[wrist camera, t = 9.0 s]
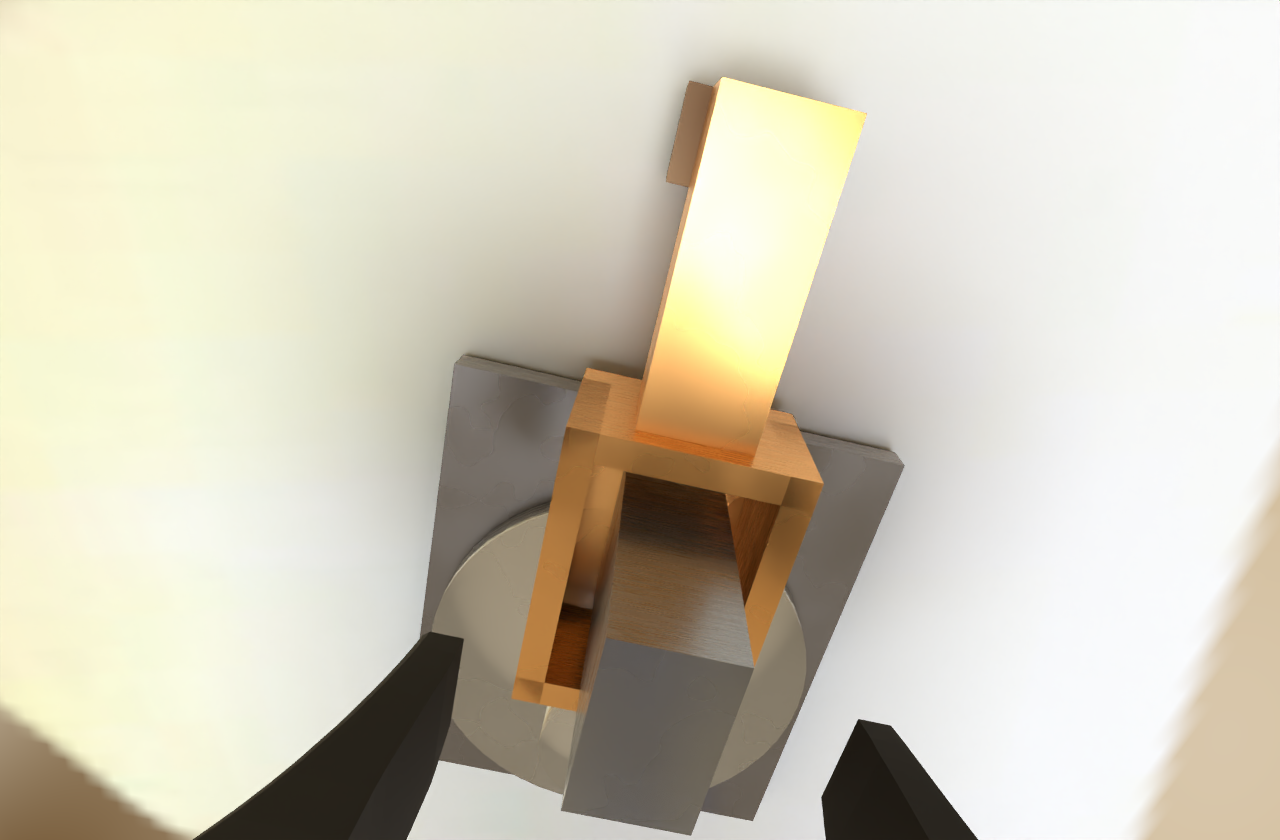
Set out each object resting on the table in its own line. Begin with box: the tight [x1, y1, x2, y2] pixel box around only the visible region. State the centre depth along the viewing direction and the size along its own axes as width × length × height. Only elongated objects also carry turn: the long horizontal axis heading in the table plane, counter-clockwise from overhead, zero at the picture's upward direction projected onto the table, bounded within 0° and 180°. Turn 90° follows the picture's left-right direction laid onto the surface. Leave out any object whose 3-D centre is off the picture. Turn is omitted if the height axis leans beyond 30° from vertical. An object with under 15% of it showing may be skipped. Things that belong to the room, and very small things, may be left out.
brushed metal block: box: [561, 471, 754, 835], centre depth 15 cm, size 4×2×7 cm, turn 167°
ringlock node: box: [420, 77, 904, 821], centre depth 17 cm, size 22×12×5 cm, turn 167°
